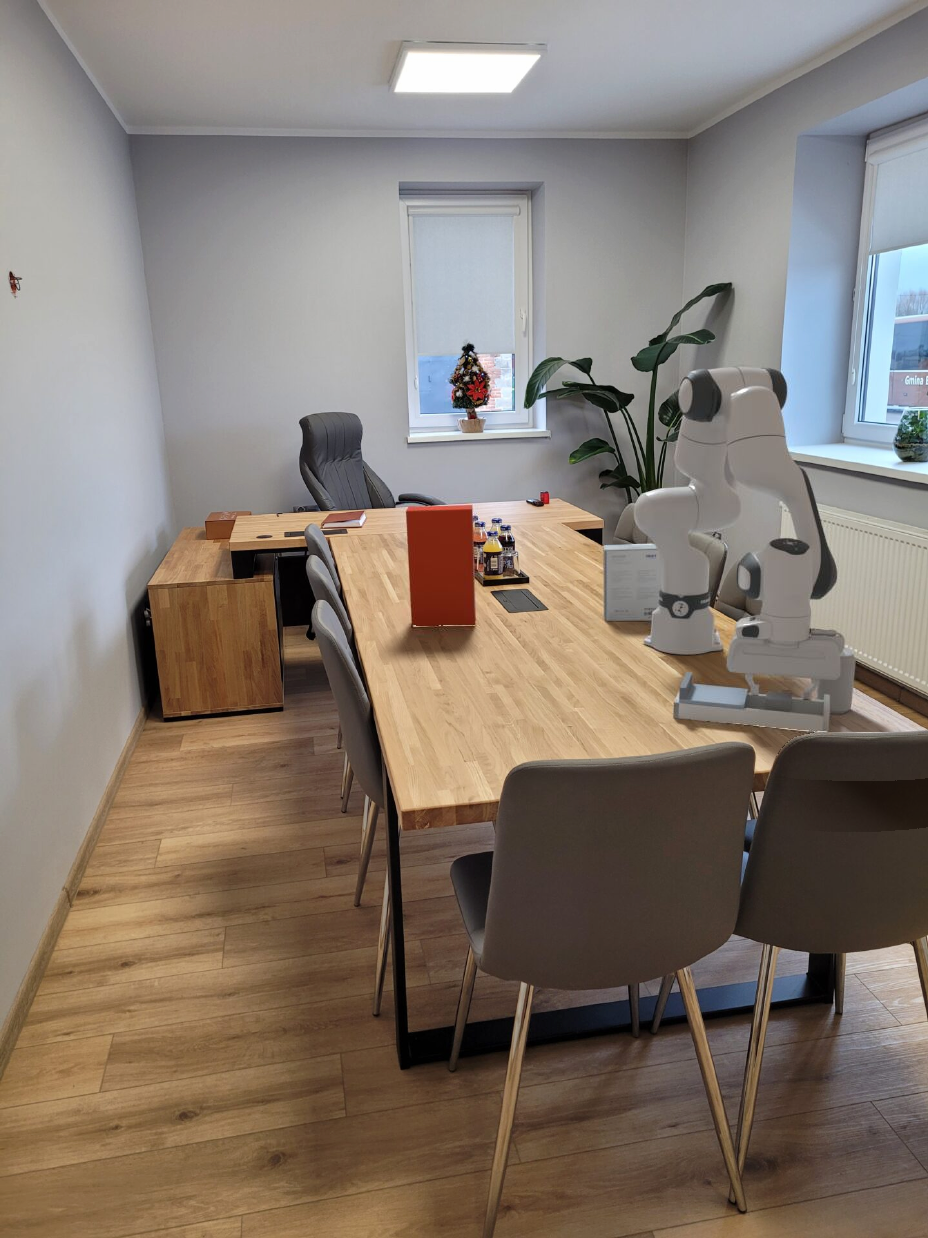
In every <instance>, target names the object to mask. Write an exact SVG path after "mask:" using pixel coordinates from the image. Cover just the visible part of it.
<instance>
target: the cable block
mask: <svg viewBox="0 0 928 1238" xmlns="http://www.w3.org/2000/svg"><path fill="white" fill-rule="evenodd" d="M792 697H793V693H792V692H786V691H785V692H784V691H772V690H767V691H766V705H765V710H771V711H781V712H791V700H792Z"/></svg>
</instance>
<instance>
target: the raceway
mask: <svg viewBox="0 0 928 1238" xmlns="http://www.w3.org/2000/svg"><path fill="white" fill-rule="evenodd" d="M766 695H767V693H765V694H764V693H759V696H754V695H751V692H748V693H747V697H746V701H745V706H744V709H738V708H728V707H718V706H709V705H699V704H689V703H679V691H678V692H677V694H676V697H675V698H674V701H673V712H672V714H673V716H672V718H673V719H681V720H682V719H683V720H689V719H690V720H691V721H700V722H707V721H710V722H709V723H717V722H718V723H719V724H726V723H740V724H747V725H759V726H765V727H776V728H788V729H797V730H809V731H808V732H814V731H815V732H817V731H828V732H829V726H830V725H829V724H830V714H831V713H830V695H827V694H824V700H818V699H817V698H816V699H815V698H812V699H811V701H810V700H803V697H795V696H792V700H791V712H781V711H771V710H765V705H766ZM808 732H807V733H808Z"/></svg>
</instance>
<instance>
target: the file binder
mask: <svg viewBox="0 0 928 1238" xmlns="http://www.w3.org/2000/svg"><path fill="white" fill-rule="evenodd" d="M473 509H474V508H473V504H458V505H455V504H453V505H423V506H422V505H420V506H417V505H416V506H415V505H414V506H408V507H407V508H406V510H405V520H406V523H405V524H406V538H407V539H406V540H407V555H408V557H407V558H408V578H409V580H408V581H409V597H410V598H409V599H410V600H409V601H410V614H411V615H410V617H411V618H410V619H411V626H412V625H416V626H439V625H441V626H443V625H475V626H476V623H475V621H477V617H476V609H477V608H476V582H475V581H476V580H475V579H476V578H475V552H474V551H475V548H474V546H475V545H474V542H475V541H474V515H473V514H474V513H473Z"/></svg>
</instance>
